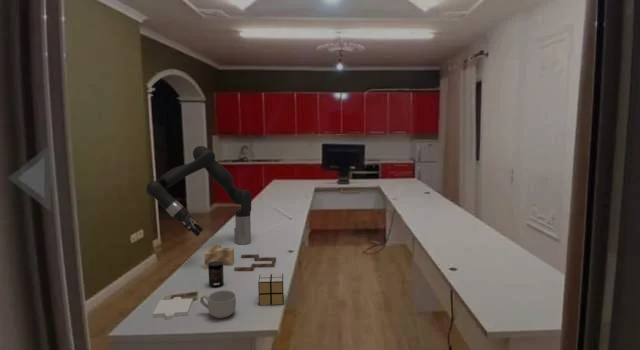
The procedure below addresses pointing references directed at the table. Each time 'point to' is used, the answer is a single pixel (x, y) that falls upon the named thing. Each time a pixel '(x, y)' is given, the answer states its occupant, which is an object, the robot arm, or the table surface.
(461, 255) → the table surface
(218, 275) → the supplement container
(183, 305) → the mounting plate
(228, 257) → the T block
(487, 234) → the table surface
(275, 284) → the puzzle cube
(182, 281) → the table surface
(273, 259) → the T outline
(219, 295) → the teacup
